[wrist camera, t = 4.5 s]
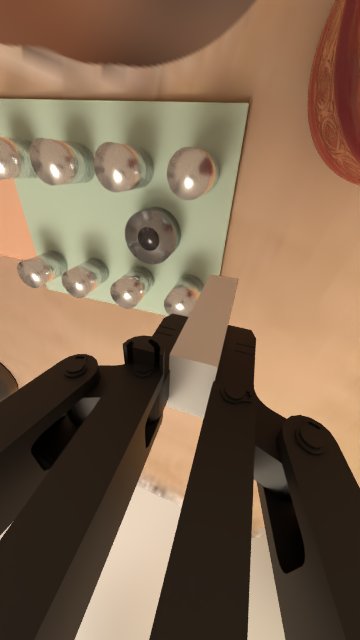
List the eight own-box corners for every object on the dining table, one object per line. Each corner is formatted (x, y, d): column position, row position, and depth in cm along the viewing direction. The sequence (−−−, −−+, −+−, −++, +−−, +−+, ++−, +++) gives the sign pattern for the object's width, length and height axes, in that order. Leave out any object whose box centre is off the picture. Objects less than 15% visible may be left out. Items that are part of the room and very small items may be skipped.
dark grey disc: (136, 253, 25) (126, 260, 24) (134, 204, 23) (122, 207, 21) (179, 260, 24) (172, 268, 23) (182, 209, 22) (174, 213, 20)
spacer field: (50, 287, 33) (47, 289, 33) (-6, 99, 22) (-12, 98, 21) (211, 322, 28) (210, 325, 28) (249, 104, 17) (248, 102, 16)
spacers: (50, 272, 31) (22, 285, 27) (11, 138, 23) (-34, 133, 19) (202, 302, 26) (193, 323, 23) (222, 151, 18) (213, 148, 15)
